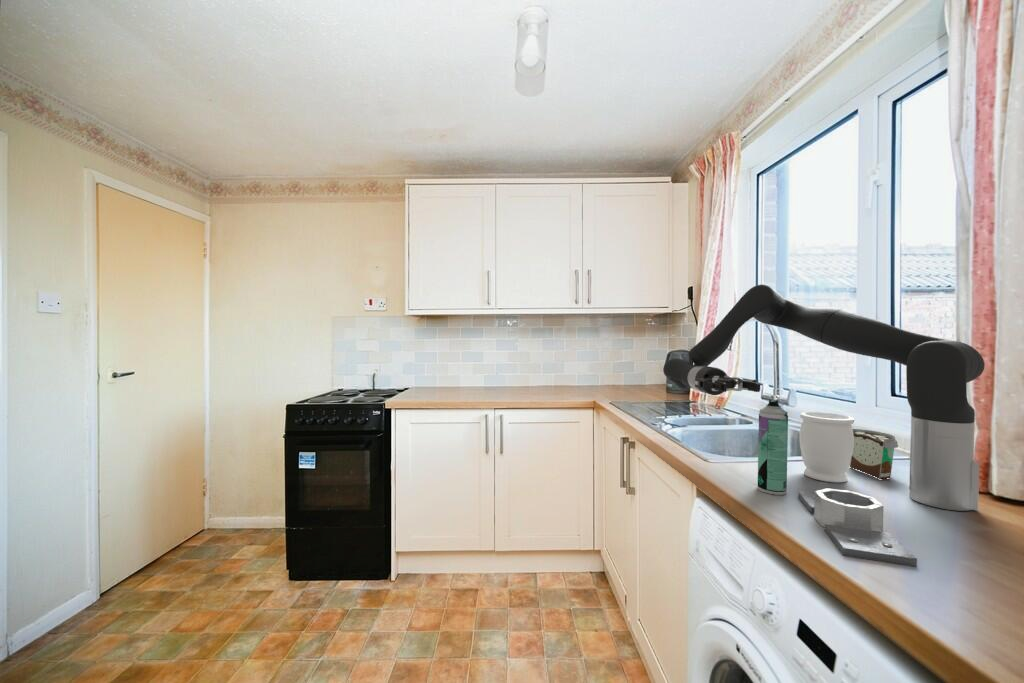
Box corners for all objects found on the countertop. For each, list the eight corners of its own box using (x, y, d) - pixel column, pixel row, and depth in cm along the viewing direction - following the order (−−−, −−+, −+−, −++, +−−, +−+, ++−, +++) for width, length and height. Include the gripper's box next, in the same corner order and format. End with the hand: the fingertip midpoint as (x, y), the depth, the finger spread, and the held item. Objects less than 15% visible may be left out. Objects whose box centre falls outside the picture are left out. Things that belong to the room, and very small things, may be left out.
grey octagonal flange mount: (849, 502, 89) (850, 478, 88) (917, 566, 64) (917, 533, 64) (798, 496, 92) (798, 473, 92) (843, 555, 67) (844, 523, 67)
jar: (850, 475, 106) (851, 414, 106) (855, 488, 97) (857, 421, 97) (798, 468, 112) (799, 410, 111) (799, 479, 103) (800, 416, 103)
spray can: (782, 488, 97) (784, 398, 96) (789, 496, 92) (791, 402, 91) (755, 485, 99) (756, 397, 98) (760, 493, 93) (762, 401, 93)
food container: (911, 482, 101) (913, 440, 101) (885, 482, 101) (886, 439, 101) (869, 466, 113) (870, 428, 113) (845, 466, 114) (846, 428, 113)
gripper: (683, 366, 121) (714, 372, 105) (731, 366, 123) (770, 372, 106) (682, 393, 122) (713, 403, 105) (730, 393, 123) (769, 403, 107)
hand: (742, 387), depth 106 cm, fingers open, 8 cm apart
